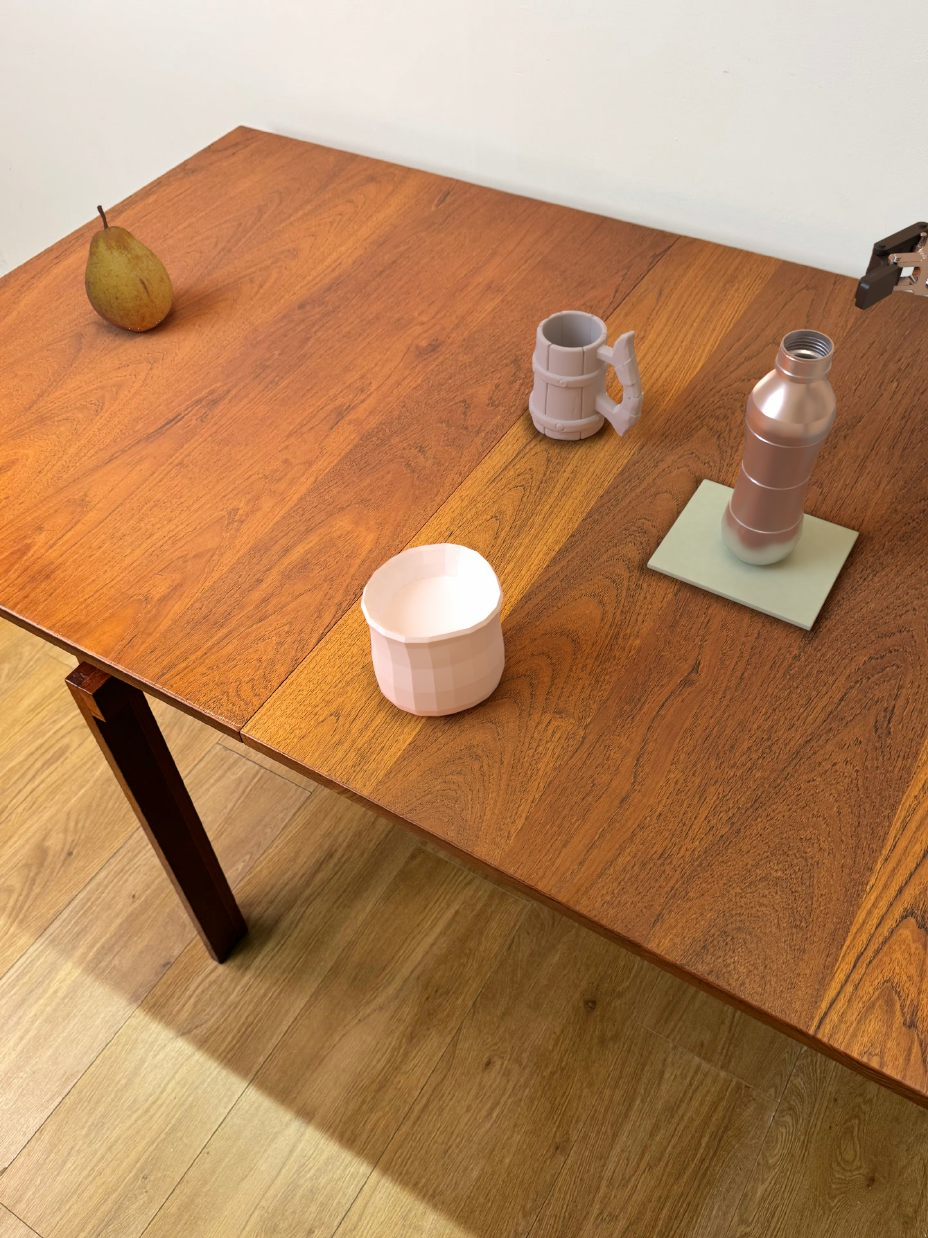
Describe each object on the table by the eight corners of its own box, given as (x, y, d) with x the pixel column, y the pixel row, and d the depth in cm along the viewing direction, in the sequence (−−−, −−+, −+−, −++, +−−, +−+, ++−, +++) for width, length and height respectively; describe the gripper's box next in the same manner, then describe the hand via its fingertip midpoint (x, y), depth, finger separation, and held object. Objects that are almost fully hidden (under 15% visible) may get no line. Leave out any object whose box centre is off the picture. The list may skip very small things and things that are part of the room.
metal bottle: (806, 534, 84) (869, 331, 69) (779, 587, 81) (839, 384, 66) (734, 509, 87) (779, 307, 72) (704, 559, 83) (745, 357, 68)
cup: (529, 665, 78) (530, 581, 70) (442, 748, 73) (433, 667, 65) (439, 606, 82) (431, 520, 74) (352, 681, 77) (334, 598, 70)
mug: (560, 383, 100) (564, 275, 91) (659, 430, 95) (674, 320, 86) (512, 421, 97) (511, 313, 87) (612, 472, 91) (622, 362, 82)
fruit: (165, 343, 108) (132, 239, 99) (86, 338, 109) (47, 235, 100) (191, 298, 113) (162, 196, 104) (116, 294, 115) (81, 193, 105)
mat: (857, 536, 85) (859, 532, 84) (809, 631, 78) (811, 627, 78) (703, 482, 90) (704, 478, 90) (646, 567, 84) (647, 563, 83)
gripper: (1105, 322, 76) (982, 410, 70) (942, 250, 84) (817, 325, 77) (1153, 229, 70) (1023, 316, 64) (973, 161, 78) (841, 234, 72)
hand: (910, 321), depth 71 cm, fingers open, 8 cm apart
